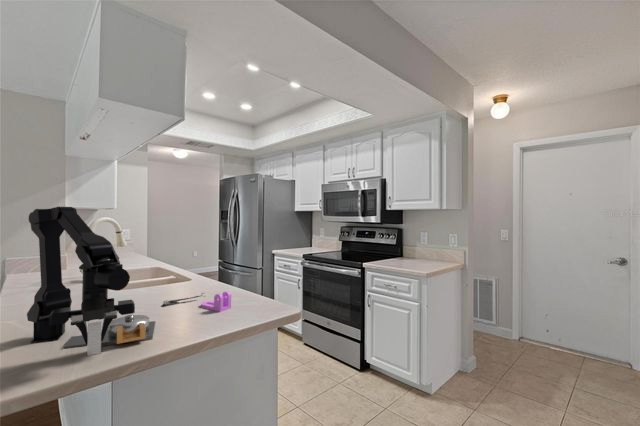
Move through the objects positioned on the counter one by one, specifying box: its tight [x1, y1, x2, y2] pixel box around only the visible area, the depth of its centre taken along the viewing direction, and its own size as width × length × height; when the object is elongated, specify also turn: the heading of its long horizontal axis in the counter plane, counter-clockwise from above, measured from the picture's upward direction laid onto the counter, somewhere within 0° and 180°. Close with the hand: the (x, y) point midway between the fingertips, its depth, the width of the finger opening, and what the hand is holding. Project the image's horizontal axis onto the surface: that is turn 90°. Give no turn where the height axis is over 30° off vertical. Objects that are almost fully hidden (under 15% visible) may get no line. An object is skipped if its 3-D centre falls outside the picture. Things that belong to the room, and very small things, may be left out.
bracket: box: [200, 290, 232, 313], centre depth 128 cm, size 13×6×7 cm, turn 61°
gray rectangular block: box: [87, 320, 102, 357], centre depth 86 cm, size 3×3×8 cm
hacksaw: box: [161, 292, 207, 308], centre depth 139 cm, size 24×10×2 cm, turn 135°
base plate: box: [101, 320, 156, 347], centre depth 99 cm, size 14×14×1 cm
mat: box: [62, 334, 88, 350], centre depth 93 cm, size 8×8×1 cm
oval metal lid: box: [108, 314, 150, 345], centre depth 97 cm, size 16×11×4 cm
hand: (94, 342), depth 86 cm, fingers closed on gray rectangular block, 3 cm apart
